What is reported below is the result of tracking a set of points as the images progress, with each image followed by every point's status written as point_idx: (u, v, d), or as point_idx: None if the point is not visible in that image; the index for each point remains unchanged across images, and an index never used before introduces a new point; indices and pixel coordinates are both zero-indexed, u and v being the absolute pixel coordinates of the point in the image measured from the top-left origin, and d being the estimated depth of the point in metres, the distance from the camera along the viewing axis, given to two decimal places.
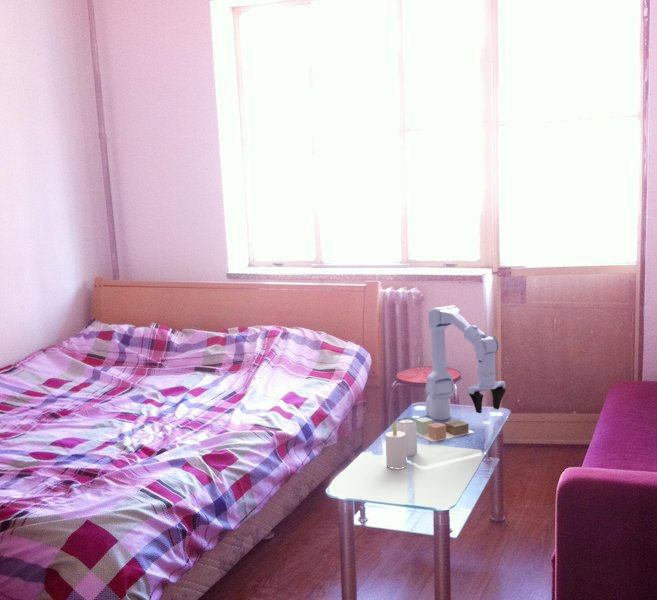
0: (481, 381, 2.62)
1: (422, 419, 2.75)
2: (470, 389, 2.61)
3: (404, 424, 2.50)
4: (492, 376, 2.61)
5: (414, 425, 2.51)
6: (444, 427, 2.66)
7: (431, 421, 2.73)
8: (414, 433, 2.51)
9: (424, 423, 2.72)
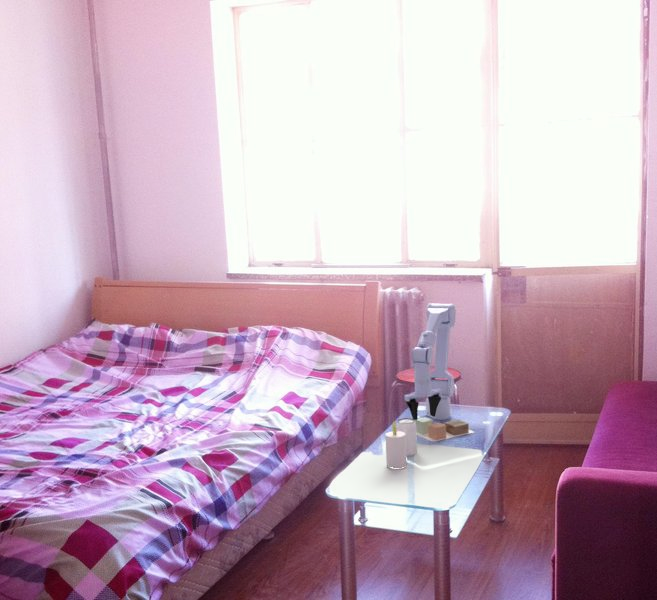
0: (417, 389, 2.71)
1: (422, 419, 2.75)
2: (406, 397, 2.69)
3: (404, 424, 2.50)
4: (427, 384, 2.70)
5: (414, 425, 2.51)
6: (444, 427, 2.66)
7: (431, 421, 2.73)
8: (414, 433, 2.51)
9: (424, 423, 2.72)
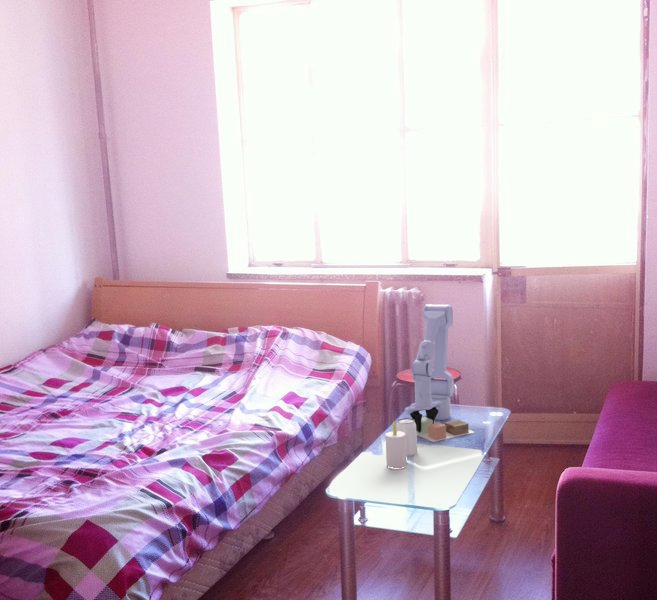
0: (417, 401, 2.72)
1: (422, 419, 2.75)
2: (406, 409, 2.70)
3: (404, 424, 2.50)
4: (428, 397, 2.71)
5: (414, 425, 2.51)
6: (444, 427, 2.66)
7: (431, 421, 2.73)
8: (414, 433, 2.51)
9: (424, 423, 2.72)
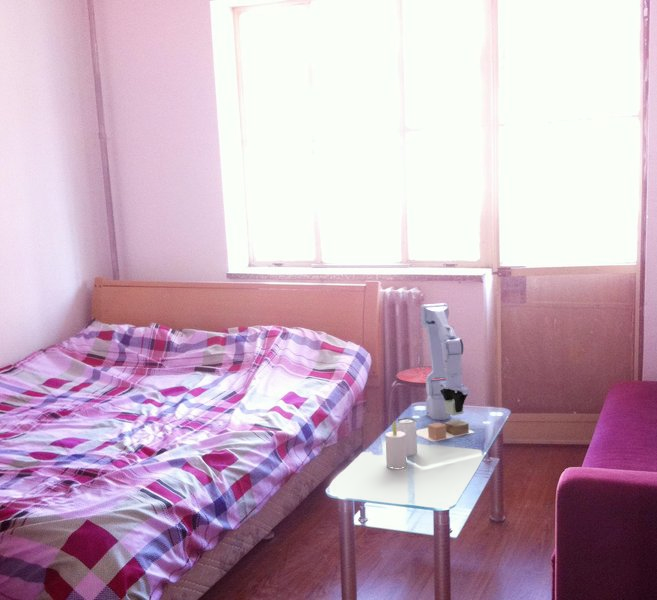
0: None
1: None
2: None
3: (404, 424, 2.50)
4: (447, 376, 2.68)
5: (414, 425, 2.51)
6: (444, 427, 2.66)
7: (452, 404, 2.69)
8: (414, 433, 2.51)
9: (446, 402, 2.71)
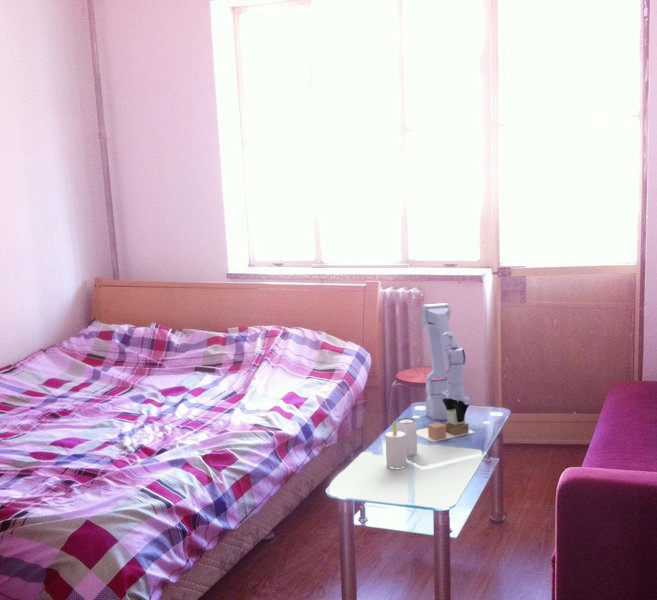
0: None
1: None
2: None
3: (404, 424, 2.50)
4: (449, 386, 2.69)
5: (414, 425, 2.51)
6: (444, 427, 2.66)
7: (453, 414, 2.69)
8: (414, 433, 2.51)
9: (448, 412, 2.72)
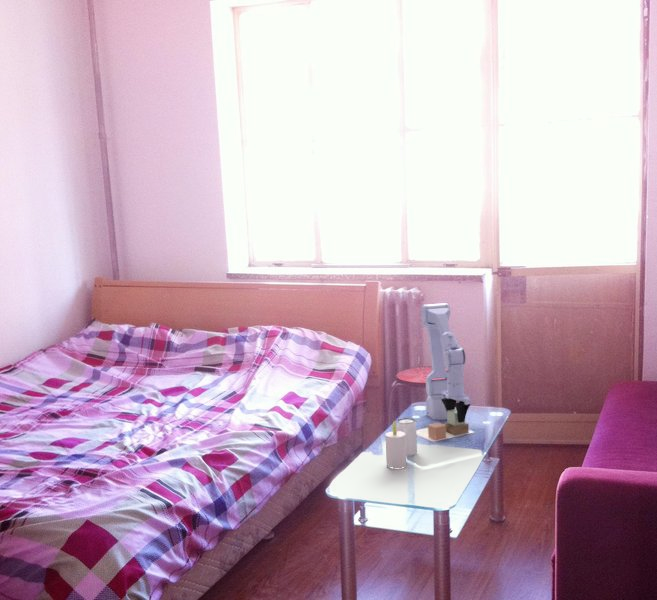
0: None
1: (456, 410, 2.72)
2: None
3: (404, 424, 2.50)
4: (449, 386, 2.69)
5: (414, 425, 2.51)
6: (444, 427, 2.66)
7: (453, 414, 2.69)
8: (414, 433, 2.51)
9: (448, 413, 2.72)
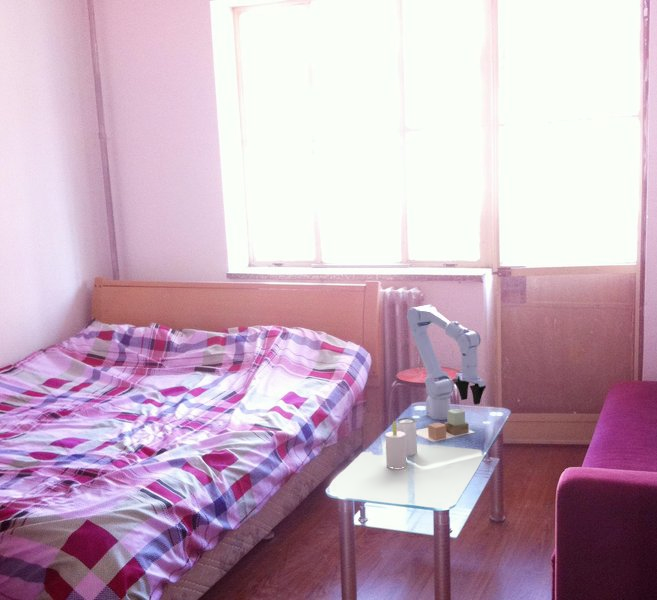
0: None
1: (456, 410, 2.72)
2: None
3: (404, 424, 2.50)
4: (463, 369, 2.75)
5: (414, 425, 2.51)
6: (444, 427, 2.66)
7: (453, 414, 2.69)
8: (414, 433, 2.51)
9: (448, 413, 2.72)
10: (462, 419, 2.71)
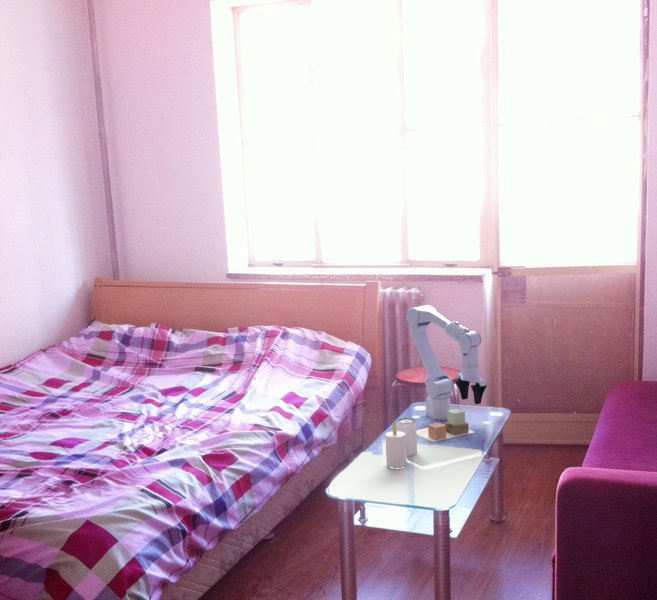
0: None
1: (456, 410, 2.72)
2: None
3: (404, 424, 2.50)
4: (464, 368, 2.75)
5: (414, 425, 2.51)
6: (444, 427, 2.66)
7: (453, 414, 2.69)
8: (414, 433, 2.51)
9: (448, 413, 2.72)
10: (462, 419, 2.71)
